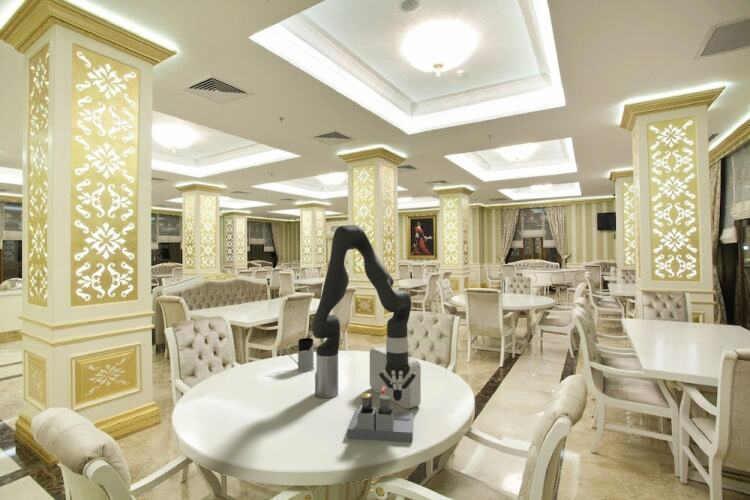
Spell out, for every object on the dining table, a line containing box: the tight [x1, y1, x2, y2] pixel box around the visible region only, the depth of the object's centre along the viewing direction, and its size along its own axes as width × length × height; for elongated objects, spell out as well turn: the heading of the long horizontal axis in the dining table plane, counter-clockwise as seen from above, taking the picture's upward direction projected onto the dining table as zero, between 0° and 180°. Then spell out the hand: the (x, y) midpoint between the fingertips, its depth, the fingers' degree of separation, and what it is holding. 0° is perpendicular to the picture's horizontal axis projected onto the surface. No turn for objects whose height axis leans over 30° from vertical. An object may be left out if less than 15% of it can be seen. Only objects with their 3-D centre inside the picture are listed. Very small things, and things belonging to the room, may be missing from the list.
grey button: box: [379, 394, 391, 413], centre depth 124 cm, size 4×4×5 cm
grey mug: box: [286, 337, 315, 373], centre depth 195 cm, size 9×14×15 cm, turn 89°
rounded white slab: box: [369, 346, 422, 410], centre depth 158 cm, size 29×8×18 cm, turn 33°
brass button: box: [361, 392, 373, 413], centre depth 125 cm, size 4×4×5 cm
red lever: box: [380, 386, 386, 395], centre depth 130 cm, size 3×4×10 cm
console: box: [346, 406, 414, 443], centre depth 129 cm, size 21×15×8 cm
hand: (397, 399), depth 129 cm, fingers closed
